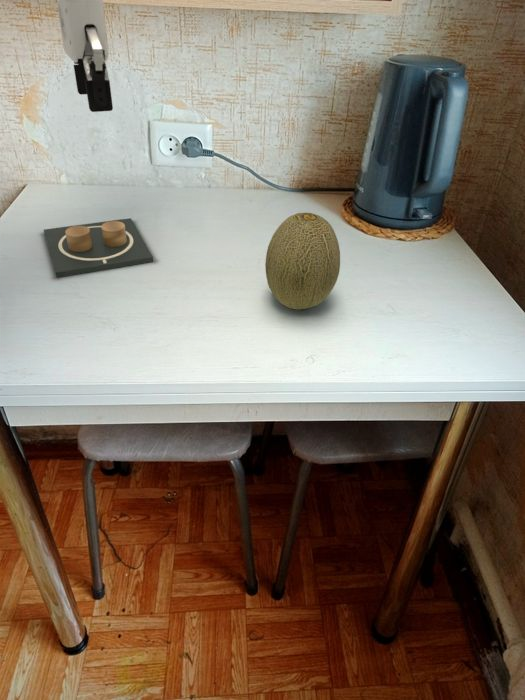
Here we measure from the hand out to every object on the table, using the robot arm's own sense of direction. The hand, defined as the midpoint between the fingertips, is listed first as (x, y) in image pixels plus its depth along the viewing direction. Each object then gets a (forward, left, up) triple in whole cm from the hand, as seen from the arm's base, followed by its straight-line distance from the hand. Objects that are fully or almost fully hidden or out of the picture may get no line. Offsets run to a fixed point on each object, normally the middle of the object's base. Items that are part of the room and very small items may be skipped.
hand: (94, 101), depth 76 cm
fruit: (+23, -27, -24) cm, 43 cm away
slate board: (-3, +1, -24) cm, 25 cm away
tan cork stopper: (0, 0, -23) cm, 23 cm away
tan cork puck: (-6, 0, -23) cm, 24 cm away
